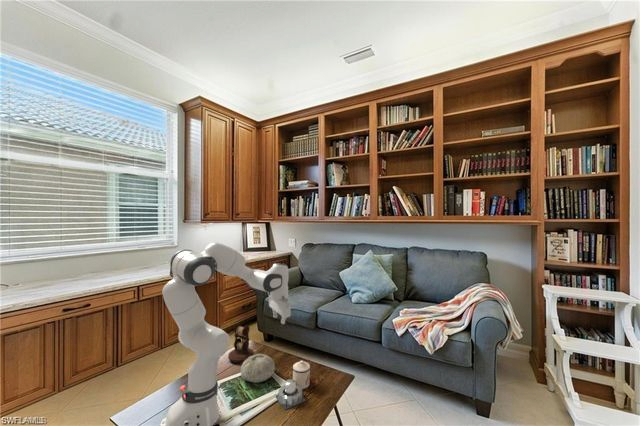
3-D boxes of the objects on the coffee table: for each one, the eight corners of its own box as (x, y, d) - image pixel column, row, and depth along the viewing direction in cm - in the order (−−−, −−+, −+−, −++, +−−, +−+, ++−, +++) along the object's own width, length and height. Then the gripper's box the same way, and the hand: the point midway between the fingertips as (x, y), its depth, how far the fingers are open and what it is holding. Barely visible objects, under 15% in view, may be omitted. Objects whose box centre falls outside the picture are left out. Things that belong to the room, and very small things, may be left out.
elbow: (299, 398, 125) (299, 382, 125) (287, 402, 122) (287, 386, 122) (294, 392, 129) (294, 377, 129) (283, 396, 126) (283, 381, 126)
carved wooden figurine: (258, 356, 162) (259, 323, 162) (239, 367, 149) (240, 332, 150) (242, 349, 170) (243, 318, 170) (222, 359, 157) (223, 325, 157)
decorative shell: (254, 392, 129) (255, 371, 129) (233, 378, 139) (233, 359, 140) (281, 375, 143) (281, 356, 143) (259, 363, 154) (260, 346, 154)
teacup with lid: (309, 390, 131) (309, 366, 131) (291, 389, 132) (291, 365, 132) (311, 375, 143) (311, 354, 143) (294, 374, 144) (294, 353, 144)
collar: (284, 410, 118) (284, 402, 118) (274, 395, 127) (274, 388, 127) (306, 401, 123) (306, 393, 124) (295, 388, 133) (295, 381, 133)
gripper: (294, 298, 132) (293, 326, 132) (277, 288, 150) (276, 313, 149) (282, 300, 129) (281, 328, 129) (266, 290, 146) (266, 315, 146)
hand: (279, 320), depth 139 cm, fingers open, 8 cm apart
